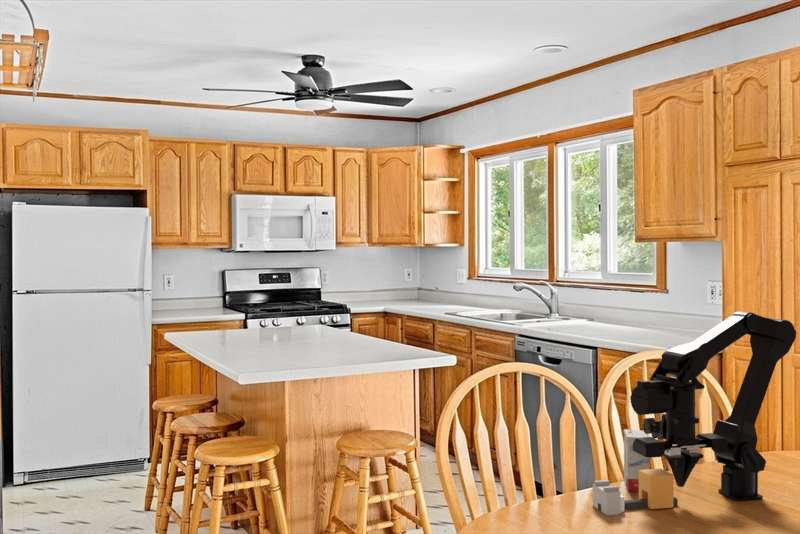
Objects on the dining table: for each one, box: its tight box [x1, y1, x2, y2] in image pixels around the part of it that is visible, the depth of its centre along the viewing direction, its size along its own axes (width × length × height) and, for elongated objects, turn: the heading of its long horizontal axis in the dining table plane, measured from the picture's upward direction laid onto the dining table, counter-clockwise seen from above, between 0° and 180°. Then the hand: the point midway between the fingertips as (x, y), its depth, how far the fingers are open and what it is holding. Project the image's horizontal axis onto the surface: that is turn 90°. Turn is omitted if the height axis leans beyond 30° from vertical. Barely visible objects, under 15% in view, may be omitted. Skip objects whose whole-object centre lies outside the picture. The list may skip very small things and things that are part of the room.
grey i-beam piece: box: [592, 479, 622, 517], centre depth 155 cm, size 3×6×5 cm, turn 12°
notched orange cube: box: [638, 468, 674, 510], centre depth 157 cm, size 5×5×7 cm
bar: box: [597, 496, 679, 512], centre depth 156 cm, size 17×1×1 cm, turn 102°
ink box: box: [623, 428, 651, 492], centre depth 170 cm, size 9×5×12 cm, turn 168°
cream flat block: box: [621, 494, 625, 513], centre depth 155 cm, size 1×4×3 cm, turn 12°
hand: (680, 486), depth 158 cm, fingers closed
